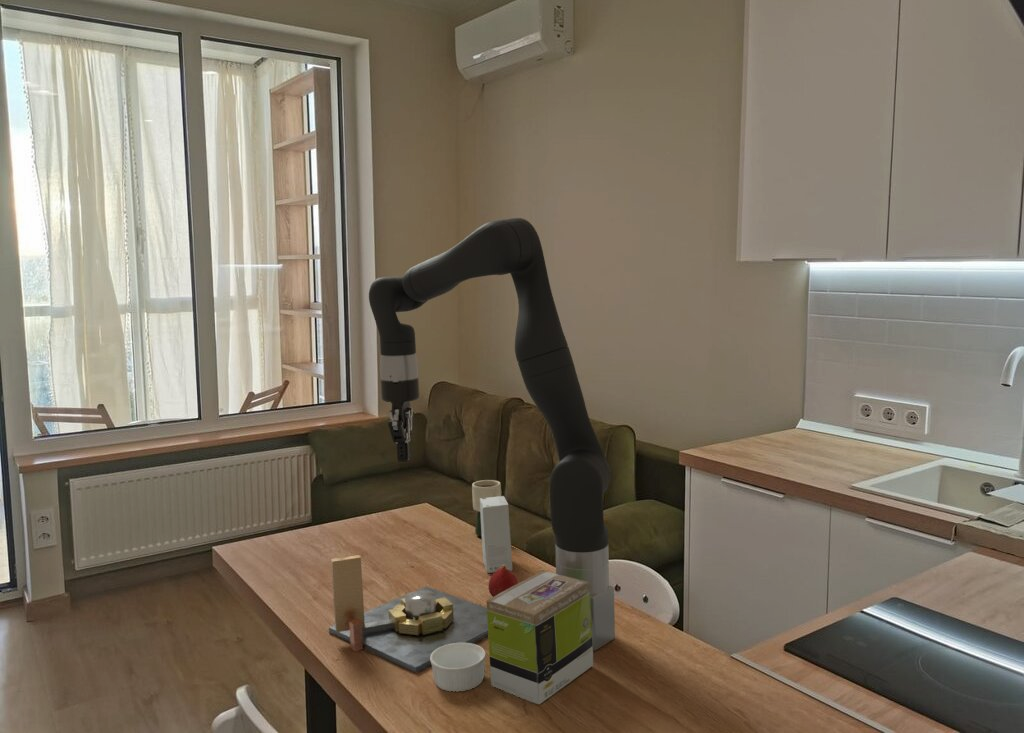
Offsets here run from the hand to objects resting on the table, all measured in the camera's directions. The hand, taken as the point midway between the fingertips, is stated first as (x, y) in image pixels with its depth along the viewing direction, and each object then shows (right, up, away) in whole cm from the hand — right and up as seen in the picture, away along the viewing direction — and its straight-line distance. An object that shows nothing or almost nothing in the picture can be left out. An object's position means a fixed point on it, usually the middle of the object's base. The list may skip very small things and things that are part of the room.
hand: (403, 460), depth 164 cm
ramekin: (+14, -31, -35) cm, 49 cm away
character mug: (+16, -23, +35) cm, 45 cm away
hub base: (+5, -29, -15) cm, 33 cm away
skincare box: (+19, -25, +14) cm, 34 cm away
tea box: (+27, -31, -35) cm, 54 cm away
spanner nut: (+1, -28, -16) cm, 32 cm away
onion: (+21, -28, -6) cm, 35 cm away
